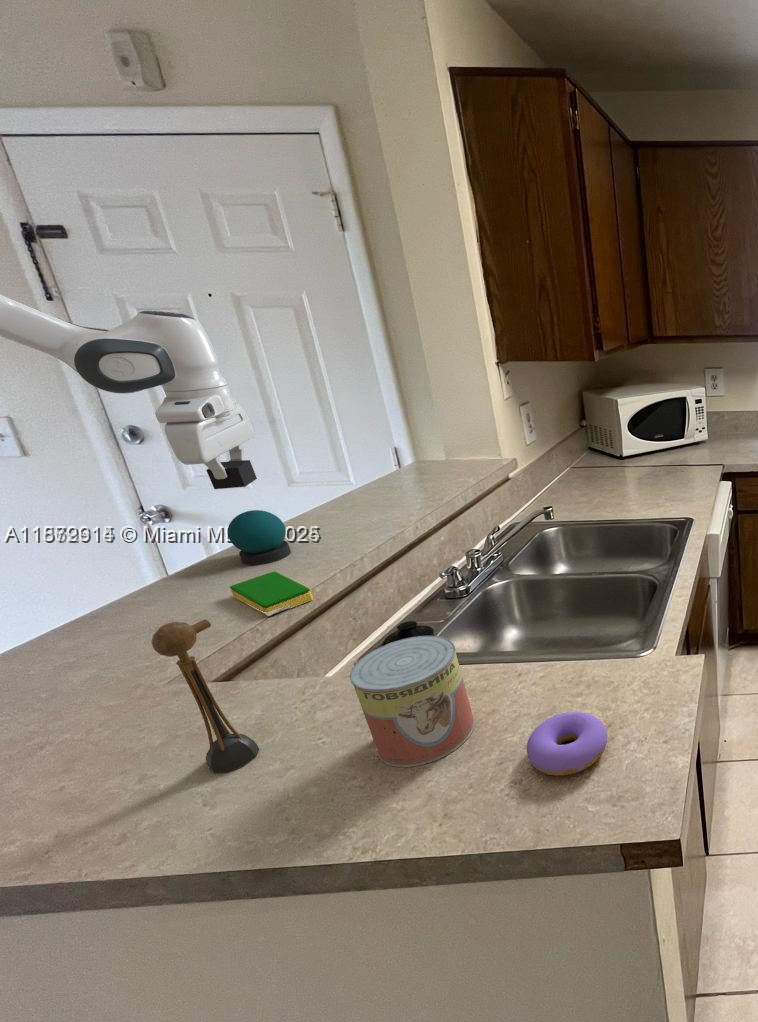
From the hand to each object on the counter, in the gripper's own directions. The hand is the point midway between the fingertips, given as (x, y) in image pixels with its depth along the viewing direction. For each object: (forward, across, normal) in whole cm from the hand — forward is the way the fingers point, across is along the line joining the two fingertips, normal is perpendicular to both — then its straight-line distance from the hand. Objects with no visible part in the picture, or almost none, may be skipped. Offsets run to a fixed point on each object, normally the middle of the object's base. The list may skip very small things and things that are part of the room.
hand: (231, 472), depth 120 cm
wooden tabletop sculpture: (+19, +65, +22) cm, 71 cm away
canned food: (+19, +68, +44) cm, 83 cm away
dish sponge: (+19, +20, +9) cm, 29 cm away
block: (+2, 0, 0) cm, 2 cm away
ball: (+19, -1, 0) cm, 19 cm away
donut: (+19, +77, +62) cm, 101 cm away
